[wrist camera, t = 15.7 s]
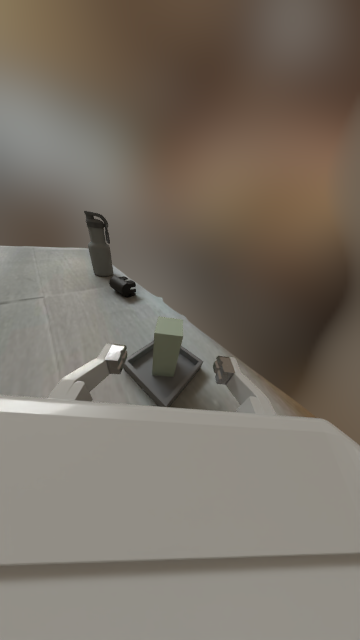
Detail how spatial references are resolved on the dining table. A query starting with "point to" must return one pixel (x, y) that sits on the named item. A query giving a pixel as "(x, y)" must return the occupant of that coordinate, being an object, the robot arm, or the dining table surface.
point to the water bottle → (99, 245)
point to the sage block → (166, 346)
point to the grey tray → (161, 387)
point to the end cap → (123, 286)
